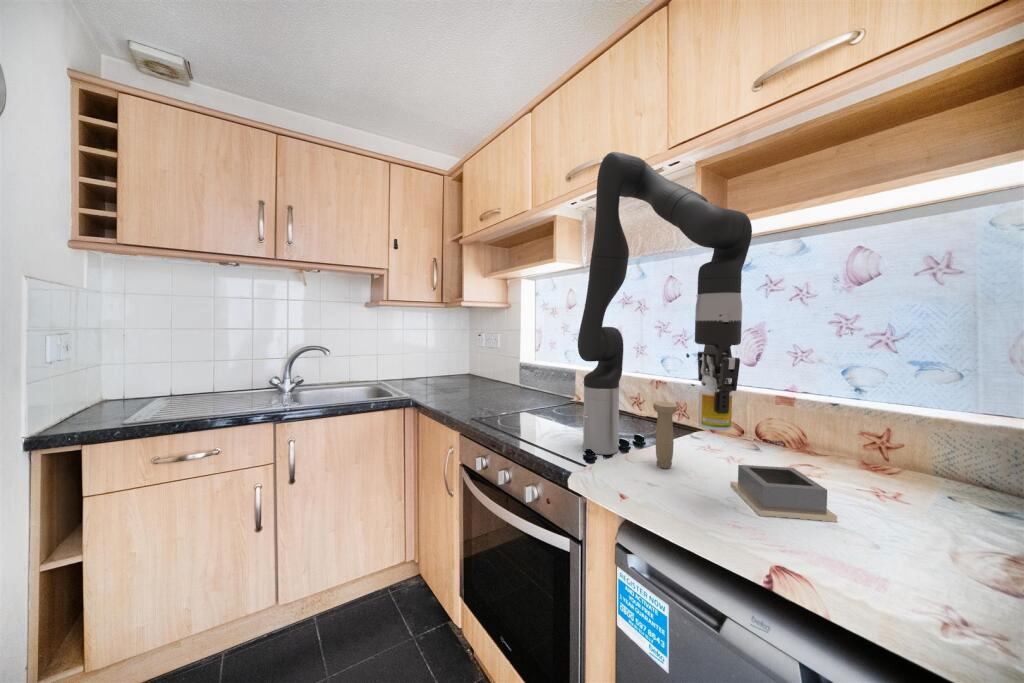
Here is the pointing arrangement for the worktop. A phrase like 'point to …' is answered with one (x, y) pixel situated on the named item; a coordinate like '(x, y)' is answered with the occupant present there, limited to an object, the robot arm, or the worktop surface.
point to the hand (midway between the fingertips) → (715, 408)
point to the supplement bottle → (712, 408)
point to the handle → (664, 433)
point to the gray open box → (782, 493)
